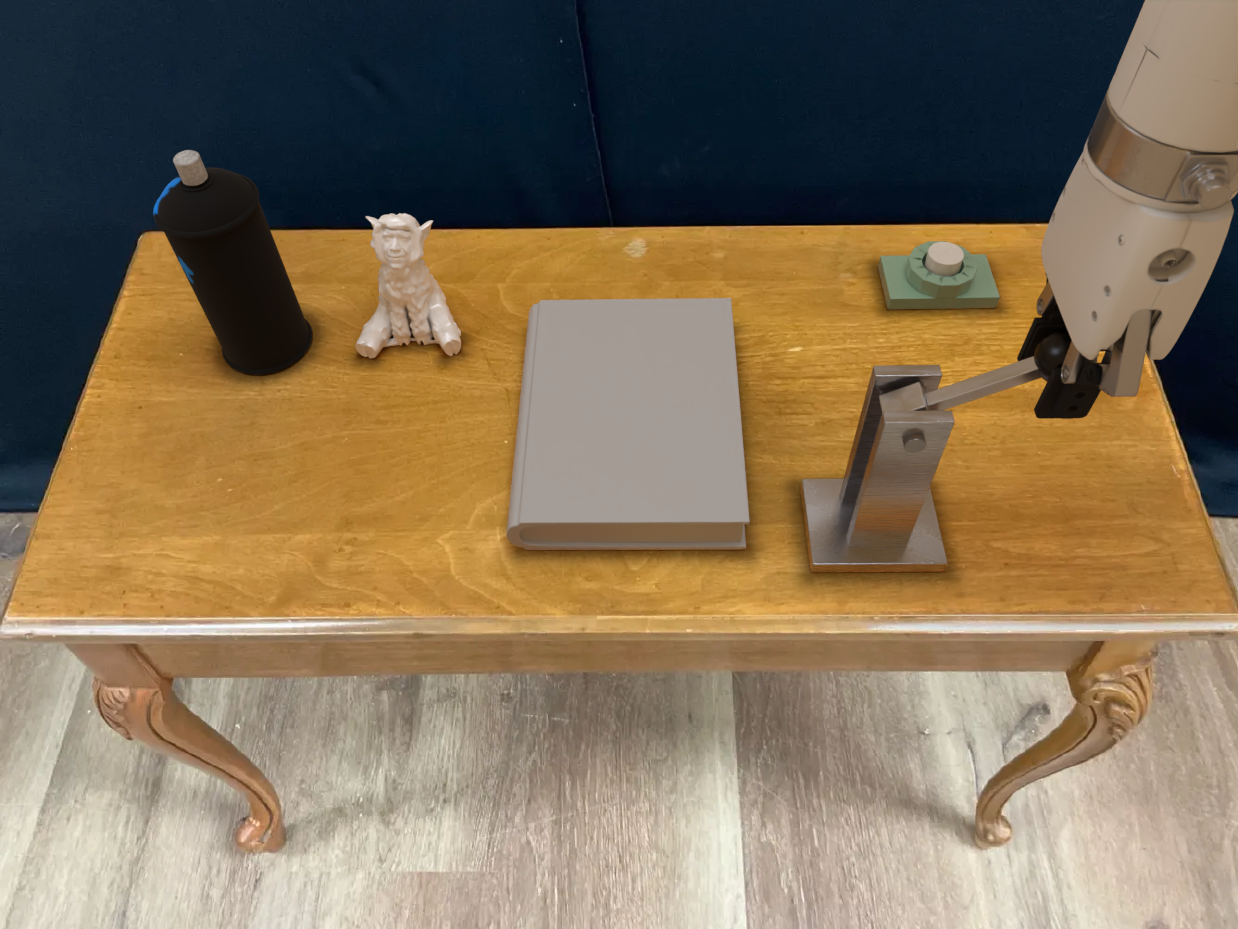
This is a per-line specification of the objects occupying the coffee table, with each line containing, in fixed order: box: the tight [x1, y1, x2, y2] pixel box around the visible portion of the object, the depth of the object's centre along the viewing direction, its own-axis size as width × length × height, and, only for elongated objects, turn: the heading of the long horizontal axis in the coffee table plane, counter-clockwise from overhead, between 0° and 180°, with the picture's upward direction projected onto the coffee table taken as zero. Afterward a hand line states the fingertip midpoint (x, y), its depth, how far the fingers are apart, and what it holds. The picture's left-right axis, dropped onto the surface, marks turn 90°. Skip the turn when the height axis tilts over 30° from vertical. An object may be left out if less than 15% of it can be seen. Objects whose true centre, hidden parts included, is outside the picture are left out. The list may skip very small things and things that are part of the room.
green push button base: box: [877, 240, 1001, 310], centre depth 90 cm, size 10×6×3 cm, turn 89°
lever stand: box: [799, 364, 956, 573], centre depth 69 cm, size 10×8×16 cm
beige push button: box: [925, 241, 964, 277], centre depth 89 cm, size 3×3×2 cm
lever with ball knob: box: [879, 328, 1099, 413], centre depth 62 cm, size 13×4×4 cm, turn 90°
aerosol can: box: [152, 149, 313, 376], centre depth 81 cm, size 8×8×20 cm
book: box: [505, 297, 750, 551], centre depth 80 cm, size 18×4×24 cm
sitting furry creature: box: [354, 212, 462, 360], centre depth 85 cm, size 10×9×12 cm
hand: (1050, 387), depth 62 cm, fingers closed on lever with ball knob, 3 cm apart
